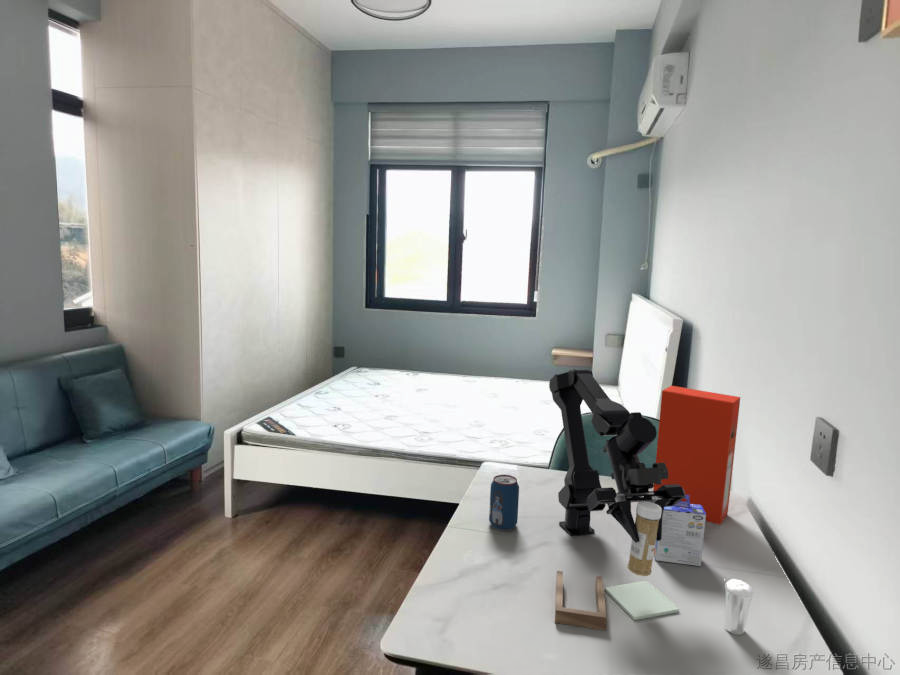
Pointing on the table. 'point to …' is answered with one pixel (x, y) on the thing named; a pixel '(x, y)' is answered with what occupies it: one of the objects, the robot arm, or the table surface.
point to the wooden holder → (580, 616)
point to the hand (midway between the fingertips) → (648, 541)
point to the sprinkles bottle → (644, 538)
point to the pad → (641, 600)
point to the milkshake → (737, 605)
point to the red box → (699, 446)
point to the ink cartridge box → (681, 534)
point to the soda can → (504, 502)
